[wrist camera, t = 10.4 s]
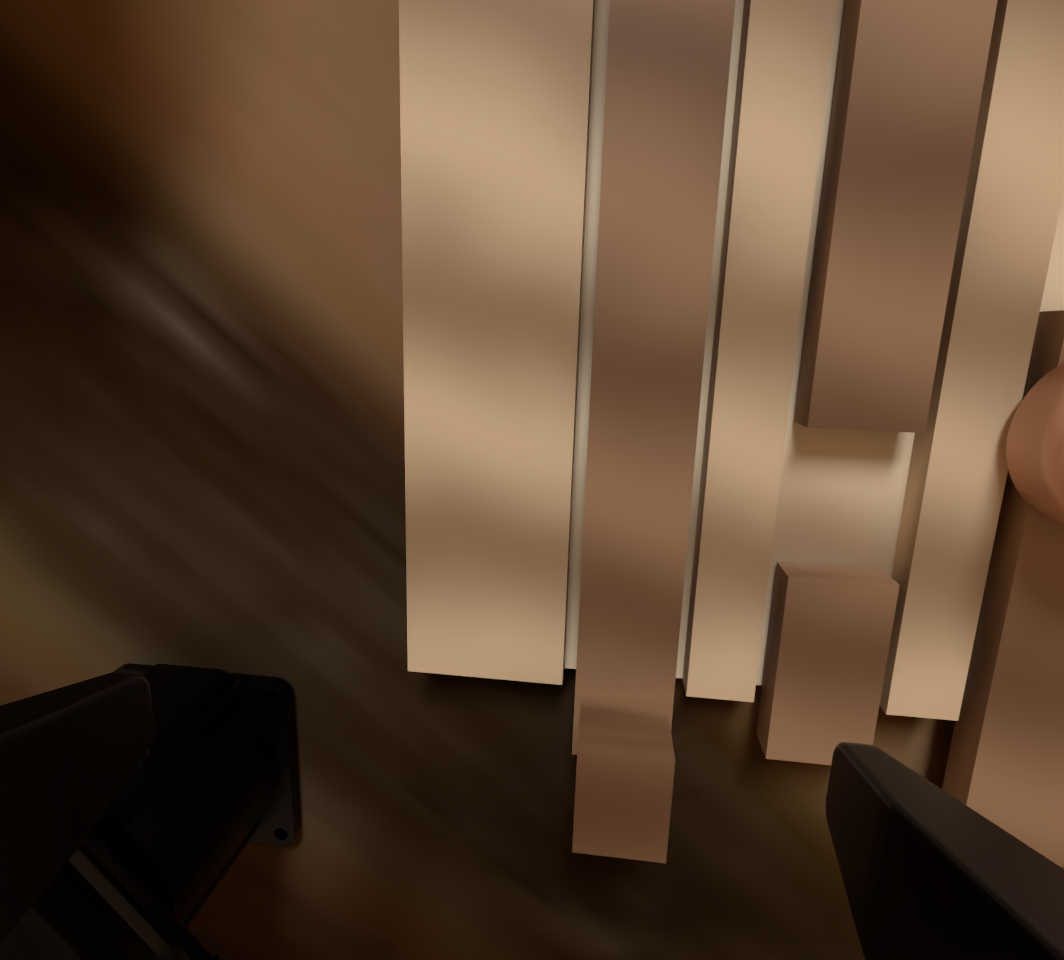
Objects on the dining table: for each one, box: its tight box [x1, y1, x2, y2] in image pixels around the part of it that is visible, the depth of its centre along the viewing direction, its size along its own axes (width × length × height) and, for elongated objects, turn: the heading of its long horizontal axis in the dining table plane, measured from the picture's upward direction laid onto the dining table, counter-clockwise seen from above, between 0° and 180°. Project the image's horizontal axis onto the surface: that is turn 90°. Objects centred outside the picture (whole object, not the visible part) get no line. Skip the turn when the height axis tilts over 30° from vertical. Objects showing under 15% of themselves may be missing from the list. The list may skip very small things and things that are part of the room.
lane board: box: [399, 0, 1064, 765], centre depth 17 cm, size 22×24×2 cm
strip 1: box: [572, 0, 735, 863], centre depth 16 cm, size 22×3×4 cm, turn 178°
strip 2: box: [942, 310, 1064, 867], centre depth 16 cm, size 22×3×4 cm, turn 178°
